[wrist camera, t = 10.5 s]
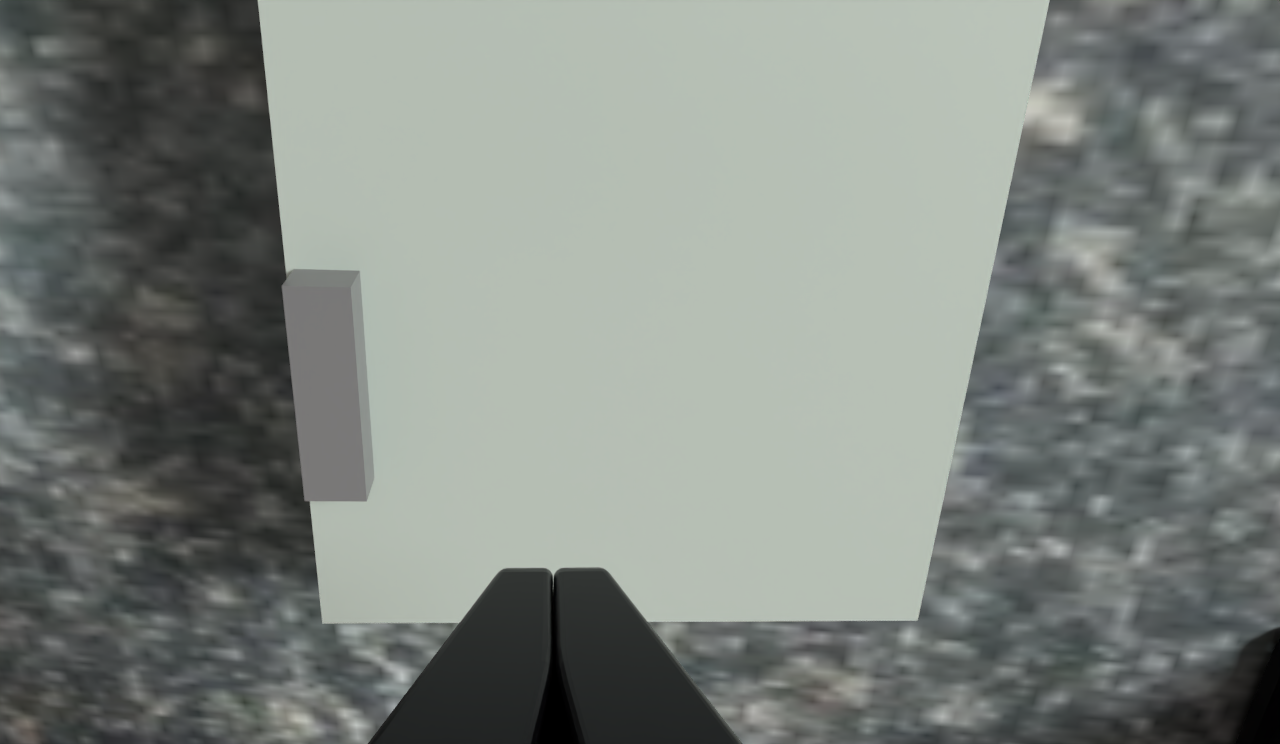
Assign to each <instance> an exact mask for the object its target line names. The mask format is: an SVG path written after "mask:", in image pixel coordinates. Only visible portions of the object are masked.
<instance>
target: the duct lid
mask: <svg viewBox="0 0 1280 744" xmlns="http://www.w3.org/2000/svg"><path fill="white" fill-rule="evenodd" d="M1048 5H1049V0H258V8H259V17H260V27H261V36H262V46H263V56H264V65H265V75H266V85H267V94H268V104H269V114H270V123H271V133H272V142H273V152H274V162H275V171H276V181H277V191H278V200H279V210H280V220H281V229H282V239H283V248H284V258H285V268H286V277H287V279H286V281H285V282H284V283H283V285H282V294H283V303H284V313H285V322H286V331H287V341H288V350H289V360H290V369H291V378H292V388H293V397H294V407H295V416H296V425H297V435H298V444H299V454H300V463H301V472H302V482H303V491H304V501H310V509H311V518H312V528H313V538H314V547H315V557H316V566H317V576H318V586H319V595H320V605H321V615H322V623H460V622H461V620H462V619H463V618H464V616H465V615H466V614H467V612H468V611H469V610H470V608H471V607H472V606H473V604H474V603H475V602H476V600H477V599H478V598H479V597H480V595H481V594H482V593H483V591H484V590H485V589H486V587H487V586H488V585H489V583H490V582H491V581H492V579H493V578H494V577H495V575H496V574H497V573H498V572H499V571H500V570H502V569H504V568H547V569H549V570H550V571H551V573H552V575H553V579H554V574H555V572H556V571H557V570H558V569H560V568H575V567H600V568H604V569H605V570H607V571H608V572H609V573H610V574H611V576H612V577H613V578H614V579H615V581H616V582H617V583H618V585H619V586H620V587H621V588H622V590H623V591H624V592H625V594H626V595H627V596H628V597H629V599H630V600H631V601H632V603H633V604H634V605H635V606H636V608H637V609H638V610H639V612H640V613H641V614H642V615H643V617H644V618H645V619H646V621H647V622H723V621H918V616H919V612H920V607H921V602H922V597H923V593H924V588H925V583H926V579H927V574H928V569H929V564H930V560H931V555H932V550H933V546H934V541H935V536H936V532H937V527H938V522H939V517H940V513H941V508H942V503H943V499H944V494H945V489H946V485H947V480H948V475H949V470H950V466H951V461H952V456H953V452H954V447H955V442H956V438H957V433H958V428H959V423H960V419H961V414H962V409H963V405H964V400H965V395H966V391H967V386H968V381H969V376H970V372H971V367H972V362H973V358H974V353H975V348H976V344H977V339H978V334H979V329H980V325H981V320H982V315H983V311H984V306H985V301H986V297H987V292H988V287H989V282H990V278H991V273H992V268H993V264H994V259H995V254H996V250H997V245H998V240H999V235H1000V231H1001V226H1002V221H1003V217H1004V212H1005V207H1006V203H1007V198H1008V193H1009V188H1010V184H1011V179H1012V174H1013V170H1014V165H1015V160H1016V156H1017V151H1018V146H1019V141H1020V137H1021V132H1022V127H1023V123H1024V118H1025V113H1026V109H1027V104H1028V99H1029V94H1030V90H1031V85H1032V80H1033V76H1034V71H1035V66H1036V62H1037V57H1038V52H1039V47H1040V43H1041V38H1042V33H1043V29H1044V24H1045V19H1046V15H1047V10H1048Z"/></svg>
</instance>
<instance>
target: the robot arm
mask: <svg viewBox="0 0 1280 744" xmlns="http://www.w3.org/2000/svg"><path fill="white" fill-rule="evenodd" d="M368 744H742V743H741V741H740V740H739V739H738V737H737V736H736V735H735V734H734V732H733V731H732V730H731V728H730V727H729V726H728V725H727V723H726V722H725V721H724V719H723V718H722V717H721V716H720V714H719V713H718V712H717V710H716V709H715V708H714V707H713V705H712V704H711V703H710V701H709V700H708V699H707V698H706V696H705V695H704V694H703V693H702V691H701V690H700V689H699V687H698V686H697V685H696V684H695V682H694V681H693V680H692V678H691V677H690V676H689V675H688V673H687V672H686V671H685V669H684V668H683V667H682V666H681V664H680V663H679V662H678V660H677V659H676V658H675V657H674V655H673V654H672V653H671V651H670V650H669V649H668V648H667V646H666V645H665V644H664V642H663V641H662V640H661V639H660V637H659V636H658V635H657V633H656V632H655V631H654V630H653V628H652V627H651V626H650V624H649V623H648V622H647V621H646V619H645V618H644V617H643V615H642V614H641V613H640V612H639V610H638V609H637V608H636V606H635V605H634V604H633V603H632V601H631V600H630V599H629V597H628V596H627V595H626V594H625V592H624V591H623V590H622V588H621V587H620V586H619V585H618V583H617V582H616V581H615V579H614V578H613V577H612V576H611V574H610V573H609V572H608V571H607V570H605V569H604V568H600V567H575V568H560V569H558V570H557V571H556V572H555V574H554V579H553V575H552V573H551V571H550V570H549V569H547V568H504V569H502V570H500V571H499V572H498V573H497V574H496V575H495V577H494V578H493V579H492V581H491V582H490V583H489V585H488V586H487V587H486V589H485V590H484V591H483V593H482V594H481V595H480V597H479V598H478V599H477V600H476V602H475V603H474V604H473V606H472V607H471V608H470V610H469V611H468V612H467V614H466V615H465V616H464V618H463V619H462V620H461V622H460V623H459V624H458V626H457V627H456V628H455V630H454V631H453V632H452V633H451V635H450V636H449V637H448V639H447V640H446V641H445V643H444V644H443V645H442V647H441V648H440V649H439V651H438V652H437V653H436V655H435V656H434V657H433V659H432V660H431V661H430V662H429V664H428V665H427V666H426V668H425V669H424V670H423V672H422V673H421V674H420V676H419V677H418V678H417V680H416V681H415V682H414V684H413V685H412V686H411V688H410V689H409V690H408V692H407V693H406V694H405V695H404V697H403V698H402V699H401V701H400V702H399V703H398V705H397V706H396V707H395V709H394V710H393V711H392V713H391V714H390V715H389V717H388V718H387V719H386V721H385V722H384V723H383V724H382V726H381V727H380V728H379V730H378V731H377V732H376V734H375V735H374V736H373V738H372V739H371V740H370V742H369V743H368ZM1235 744H1280V640H1279V641H1278V643H1277V644H1276V646H1275V648H1274V650H1273V652H1272V655H1271V657H1270V660H1269V662H1268V665H1267V667H1266V670H1265V672H1264V674H1263V677H1262V679H1261V682H1260V684H1259V687H1258V689H1257V692H1256V694H1255V697H1254V699H1253V701H1252V704H1251V706H1250V709H1249V711H1248V714H1247V716H1246V719H1245V721H1244V723H1243V726H1242V728H1241V731H1240V733H1239V736H1238V738H1237V741H1236V743H1235Z"/></svg>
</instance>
